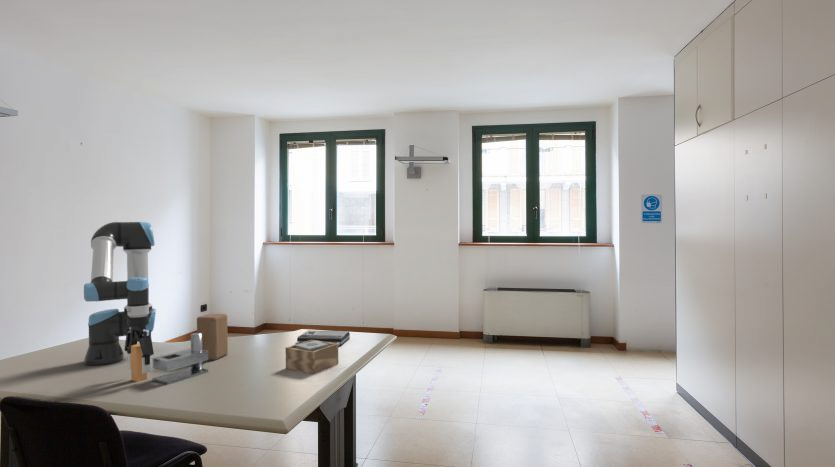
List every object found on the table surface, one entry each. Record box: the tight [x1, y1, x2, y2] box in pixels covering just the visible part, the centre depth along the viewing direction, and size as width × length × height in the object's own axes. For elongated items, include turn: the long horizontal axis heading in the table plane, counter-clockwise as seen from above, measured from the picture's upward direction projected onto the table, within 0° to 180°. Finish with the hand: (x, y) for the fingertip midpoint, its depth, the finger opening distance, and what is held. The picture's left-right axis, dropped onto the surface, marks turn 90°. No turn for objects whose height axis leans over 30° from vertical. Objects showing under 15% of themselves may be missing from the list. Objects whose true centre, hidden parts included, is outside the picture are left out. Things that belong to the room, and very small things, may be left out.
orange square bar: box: [130, 343, 148, 382], centre depth 184 cm, size 4×4×14 cm
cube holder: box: [285, 340, 339, 375], centre depth 200 cm, size 16×16×9 cm
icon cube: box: [296, 341, 328, 351], centre depth 198 cm, size 10×10×10 cm
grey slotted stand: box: [151, 332, 209, 385], centre depth 188 cm, size 10×18×16 cm, turn 150°
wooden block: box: [196, 313, 229, 361], centre depth 215 cm, size 10×10×20 cm
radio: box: [294, 330, 351, 347], centre depth 241 cm, size 24×5×20 cm
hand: (139, 370), depth 184 cm, fingers open, 9 cm apart
